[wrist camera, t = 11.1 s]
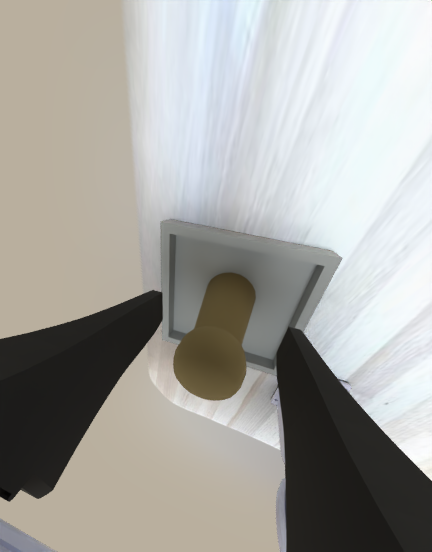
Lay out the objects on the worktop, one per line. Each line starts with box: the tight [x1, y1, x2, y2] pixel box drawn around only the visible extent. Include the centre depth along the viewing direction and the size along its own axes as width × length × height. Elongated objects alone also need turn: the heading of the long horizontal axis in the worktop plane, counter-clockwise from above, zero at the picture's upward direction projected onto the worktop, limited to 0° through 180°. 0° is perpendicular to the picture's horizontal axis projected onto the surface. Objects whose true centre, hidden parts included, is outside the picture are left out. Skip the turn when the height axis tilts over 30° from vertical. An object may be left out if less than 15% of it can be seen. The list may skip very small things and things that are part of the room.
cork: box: [173, 272, 256, 400], centre depth 15 cm, size 6×6×11 cm
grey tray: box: [161, 219, 342, 376], centre depth 20 cm, size 17×17×2 cm
